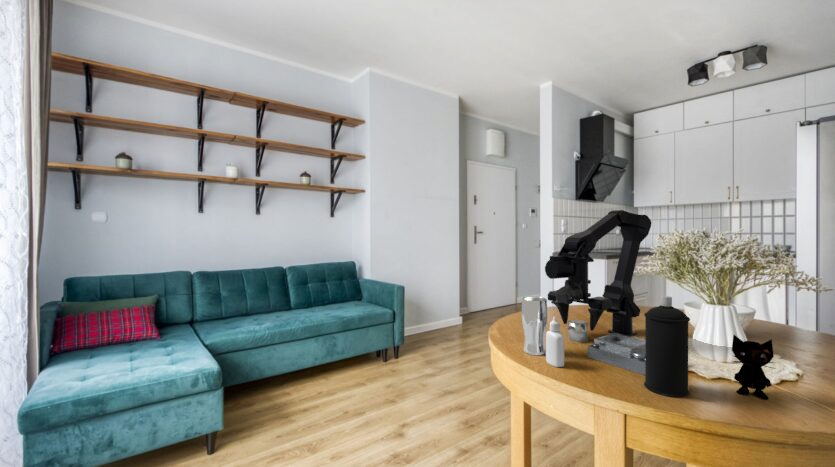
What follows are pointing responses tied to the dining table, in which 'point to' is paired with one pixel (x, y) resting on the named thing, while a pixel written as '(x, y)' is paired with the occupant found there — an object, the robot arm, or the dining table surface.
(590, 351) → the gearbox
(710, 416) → the dining table surface
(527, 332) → the beer glass
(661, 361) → the aerosol can
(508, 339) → the dining table surface
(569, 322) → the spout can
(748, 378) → the cat figurine
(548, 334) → the eye dropper bottle
